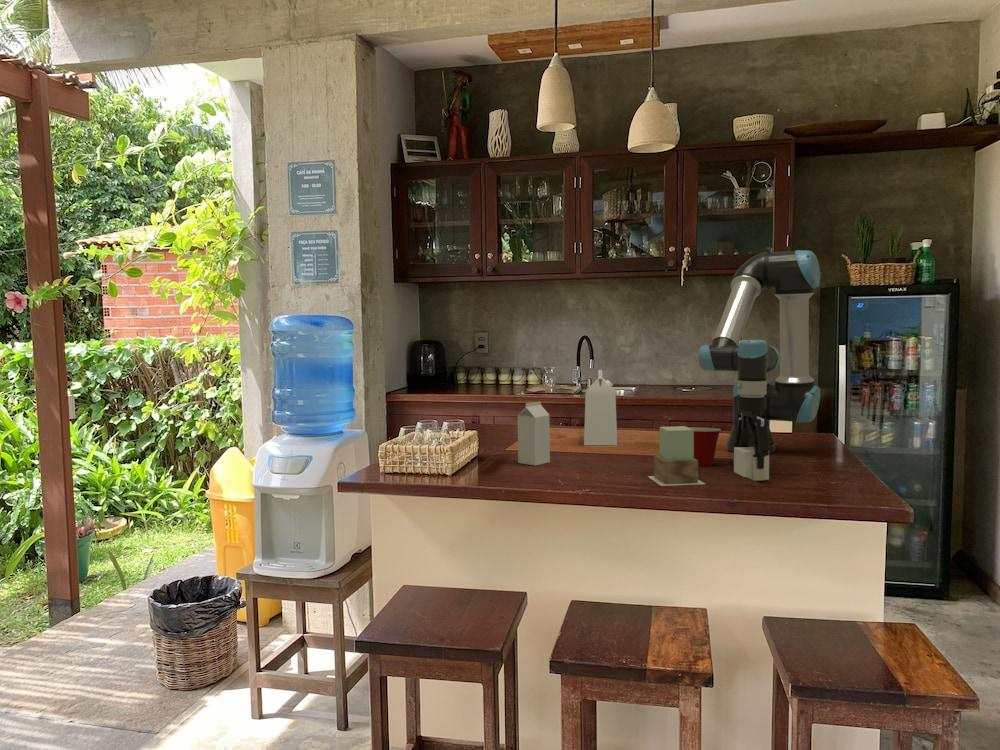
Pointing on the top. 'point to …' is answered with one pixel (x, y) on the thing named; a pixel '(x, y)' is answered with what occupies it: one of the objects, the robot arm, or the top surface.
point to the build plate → (672, 484)
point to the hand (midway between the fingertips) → (750, 476)
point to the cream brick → (748, 462)
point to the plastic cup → (705, 445)
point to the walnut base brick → (675, 471)
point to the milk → (600, 413)
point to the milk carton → (533, 435)
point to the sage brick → (676, 443)
